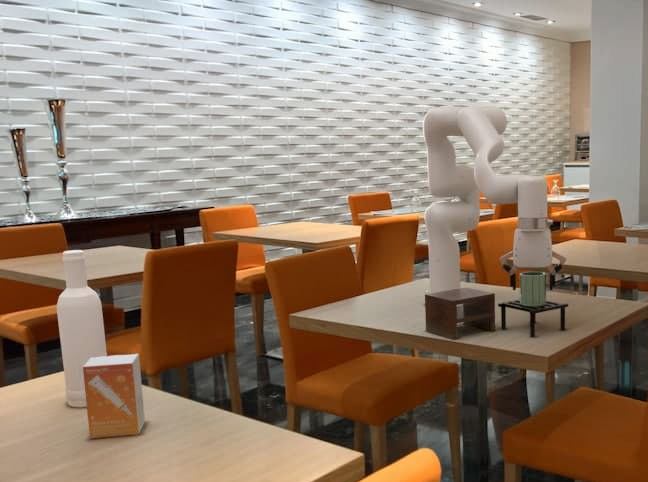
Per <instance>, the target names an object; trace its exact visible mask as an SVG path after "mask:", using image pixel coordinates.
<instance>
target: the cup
mask: <svg viewBox="0 0 648 482" xmlns="http://www.w3.org/2000/svg"><path fill="white" fill-rule="evenodd" d="M519 300H520V304H521V305H524V306H542V305H545V304H546V301H547V273H546V272H543V271H523V272H520V273H519Z"/></svg>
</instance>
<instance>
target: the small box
mask: <svg viewBox="0 0 648 482" xmlns="http://www.w3.org/2000/svg"><path fill="white" fill-rule="evenodd" d="M140 362H141V361H140V353H131V354H115V355H114V354H113V355H107V356H105V357H91V358H90V359H89V360H88V361H87V363H86V364H85V365H84V366H83V374H84V384H85V394H86V404H87V407H86V414H87V421H88V432H89V438H90V439H97V438H98V439H99V438H109V437H121V436H123V437H124V436H133V435H134V436H138V435H140V433H141V431H142V429H143V426H144V425H145V423H146V417H145V416H146V415H145V405H144V396H143V395H144V394H143V385H142V374H141V373H142V372H141V363H140Z"/></svg>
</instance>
